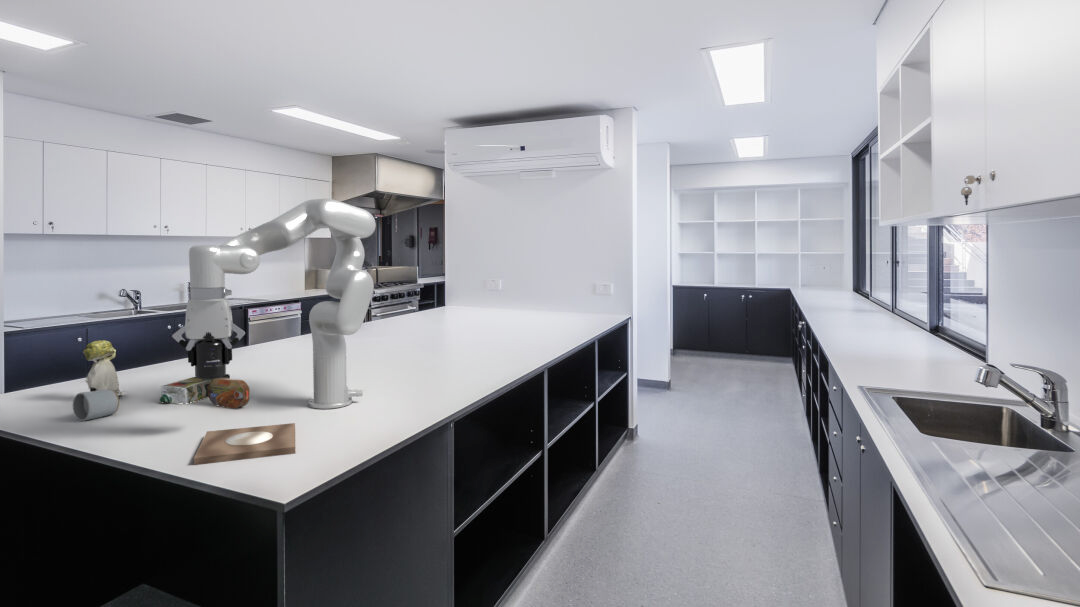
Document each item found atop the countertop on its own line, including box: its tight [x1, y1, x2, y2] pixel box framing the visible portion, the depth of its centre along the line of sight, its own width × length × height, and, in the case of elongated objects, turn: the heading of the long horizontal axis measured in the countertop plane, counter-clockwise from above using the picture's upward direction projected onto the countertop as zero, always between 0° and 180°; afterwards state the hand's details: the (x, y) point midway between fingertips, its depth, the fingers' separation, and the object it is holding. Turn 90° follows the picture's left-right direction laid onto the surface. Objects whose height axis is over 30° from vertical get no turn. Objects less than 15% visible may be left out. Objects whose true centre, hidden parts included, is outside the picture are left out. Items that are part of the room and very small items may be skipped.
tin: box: [208, 378, 251, 409], centre depth 167 cm, size 15×3×8 cm, turn 68°
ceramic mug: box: [72, 390, 120, 422], centre depth 154 cm, size 11×8×8 cm
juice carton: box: [159, 373, 231, 405], centre depth 178 cm, size 10×20×6 cm, turn 171°
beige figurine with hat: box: [82, 339, 128, 396], centre depth 172 cm, size 12×13×18 cm
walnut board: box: [193, 422, 296, 466], centre depth 133 cm, size 20×20×2 cm
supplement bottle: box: [194, 332, 227, 379], centre depth 141 cm, size 7×7×12 cm
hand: (210, 363), depth 142 cm, fingers closed on supplement bottle, 6 cm apart
